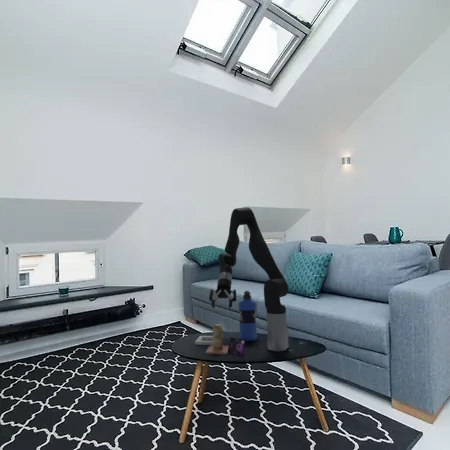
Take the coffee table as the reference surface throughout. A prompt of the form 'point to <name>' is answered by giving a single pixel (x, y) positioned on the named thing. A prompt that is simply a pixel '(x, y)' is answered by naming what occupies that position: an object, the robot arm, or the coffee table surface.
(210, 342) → the pocket block
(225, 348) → the terracotta tile
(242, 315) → the water bottle
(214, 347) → the birch peg
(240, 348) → the purple toy figure
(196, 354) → the coffee table surface
